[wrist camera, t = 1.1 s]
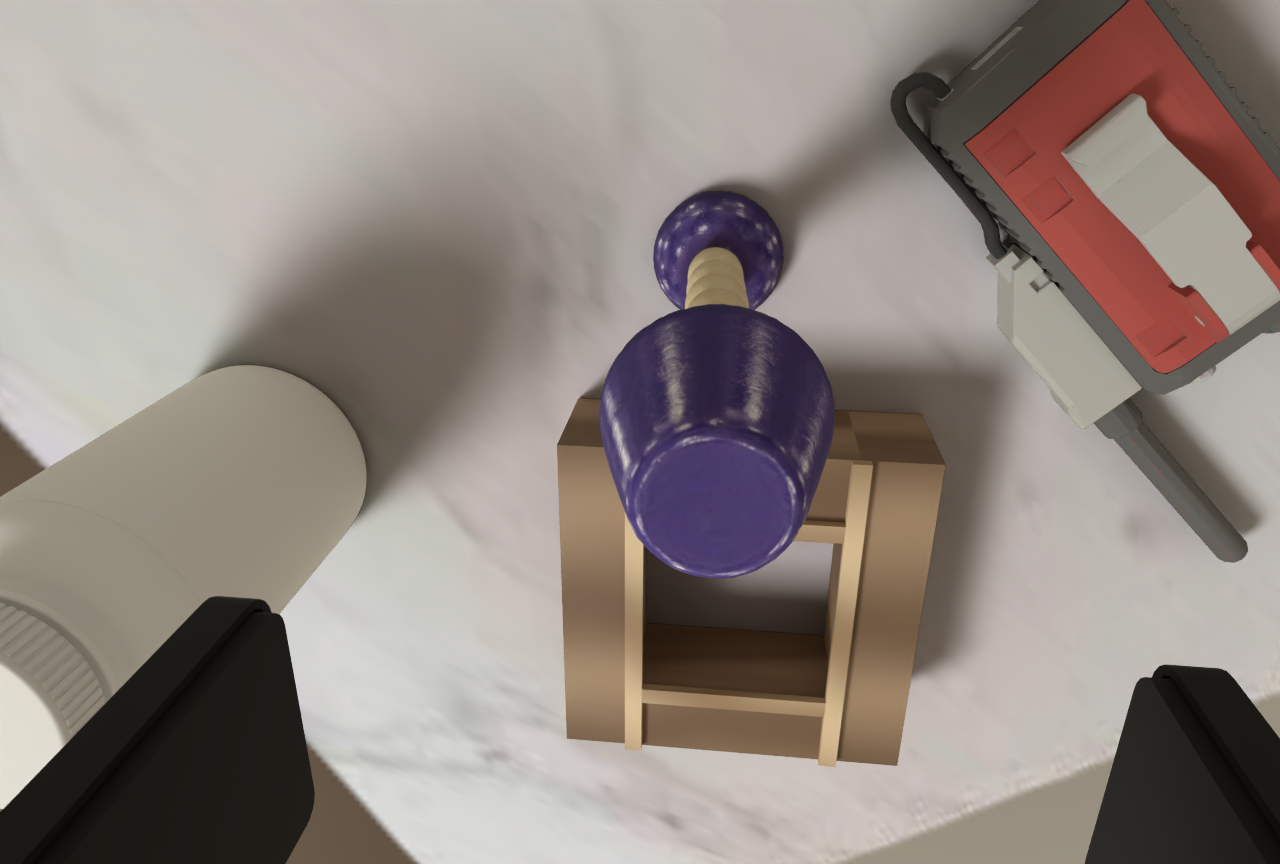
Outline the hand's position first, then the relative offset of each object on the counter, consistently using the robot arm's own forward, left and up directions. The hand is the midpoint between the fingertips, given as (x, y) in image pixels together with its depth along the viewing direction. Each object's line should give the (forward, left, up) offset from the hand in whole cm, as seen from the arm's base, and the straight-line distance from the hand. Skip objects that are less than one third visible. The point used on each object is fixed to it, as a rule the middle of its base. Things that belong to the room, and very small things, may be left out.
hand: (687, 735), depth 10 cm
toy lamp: (0, 0, -22) cm, 22 cm away
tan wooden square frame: (+11, +1, -22) cm, 24 cm away
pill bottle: (+8, -17, -22) cm, 29 cm away
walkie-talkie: (0, +13, -22) cm, 26 cm away
